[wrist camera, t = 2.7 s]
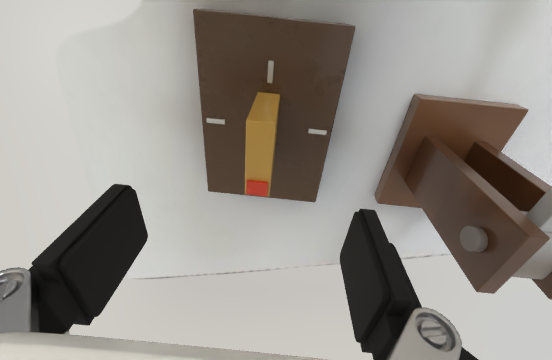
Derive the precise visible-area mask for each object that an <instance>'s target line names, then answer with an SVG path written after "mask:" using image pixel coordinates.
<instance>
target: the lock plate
mask: <svg viewBox="0 0 552 360" xmlns="http://www.w3.org/2000/svg"><path fill="white" fill-rule="evenodd" d="M193 14H194V26H195V38H196V50H197V62H198V74H199V86H200V98H201V110H202V122H203V134H204V146H205V158H206V170H207V182H208V191H211V192H221V193H230V194H240V195H247V194H245V150H246V120H247V117H248V115H249V113H250V110H251V108H252V105H253V103H254V101H255V98H256V96H257V93H258V92H263V93H272V94H280V102H279V113H278V123H277V134H276V144H275V155H274V163H273V171H272V179H271V187H270V195H269V198H279V199H289V200H299V201H308V202H315V201H316V197H317V193H318V189H319V184H320V180H321V175H322V171H323V167H324V162H325V158H326V154H327V149H328V145H329V140H330V136H331V132H332V127H333V123H334V119H335V114H336V110H337V105H338V101H339V97H340V92H341V88H342V84H343V79H344V75H345V70H346V66H347V62H348V57H349V53H350V49H351V44H352V40H353V35H354V31H355V26H353V25H349V24H340V23H331V22H321V21H312V20H302V19H293V18H284V17H274V16H265V15H255V14H246V13H236V12H227V11H217V10H208V9H194V10H193ZM250 196H256V195H250ZM260 197H265V196H260Z"/></svg>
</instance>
